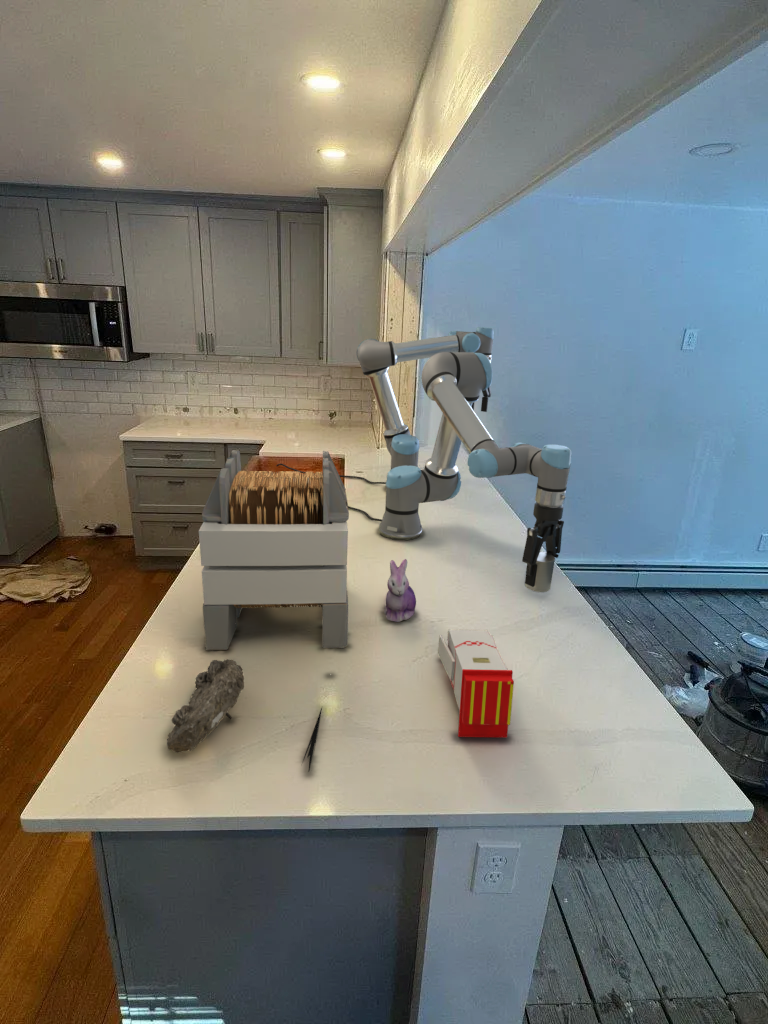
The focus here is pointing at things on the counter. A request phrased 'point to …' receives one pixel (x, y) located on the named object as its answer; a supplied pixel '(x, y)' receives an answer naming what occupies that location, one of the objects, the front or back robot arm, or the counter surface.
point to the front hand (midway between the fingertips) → (537, 581)
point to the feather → (313, 740)
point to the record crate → (274, 548)
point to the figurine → (399, 594)
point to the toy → (478, 682)
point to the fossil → (206, 705)
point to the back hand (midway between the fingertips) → (477, 413)
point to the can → (543, 573)
